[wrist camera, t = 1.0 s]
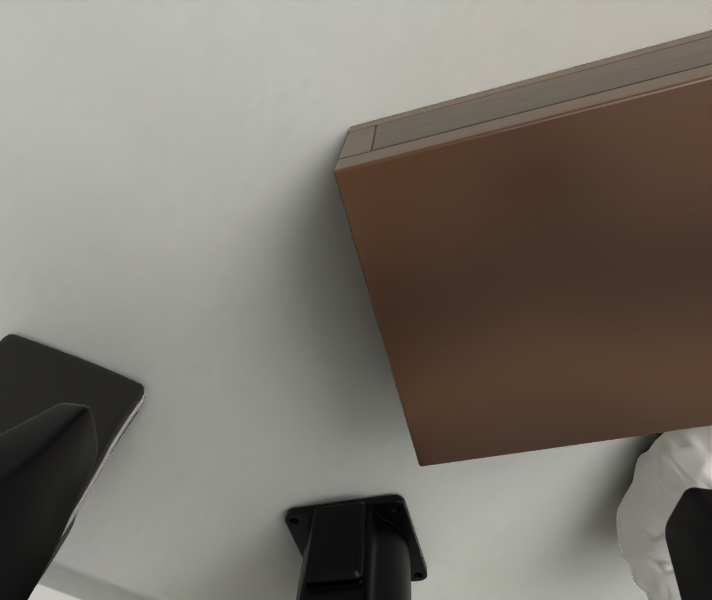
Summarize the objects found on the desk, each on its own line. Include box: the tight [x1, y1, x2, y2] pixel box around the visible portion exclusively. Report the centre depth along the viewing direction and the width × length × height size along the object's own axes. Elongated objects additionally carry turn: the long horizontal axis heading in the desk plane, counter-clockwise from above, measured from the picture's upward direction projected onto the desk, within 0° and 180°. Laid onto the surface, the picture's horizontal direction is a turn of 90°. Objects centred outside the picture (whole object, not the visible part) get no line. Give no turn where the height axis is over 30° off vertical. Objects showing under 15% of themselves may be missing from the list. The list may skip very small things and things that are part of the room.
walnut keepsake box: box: [334, 30, 712, 466], centre depth 18 cm, size 11×15×6 cm
